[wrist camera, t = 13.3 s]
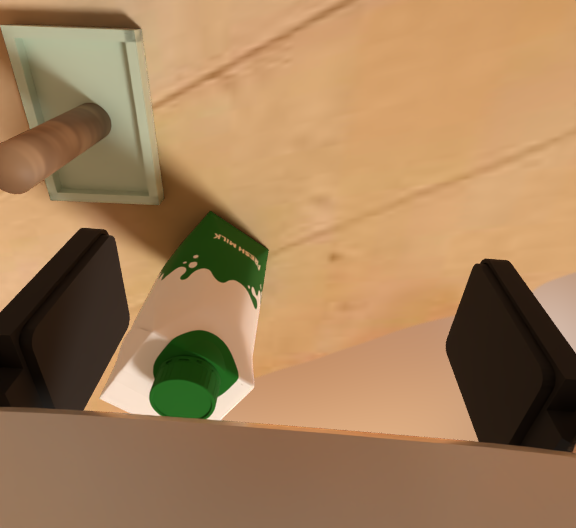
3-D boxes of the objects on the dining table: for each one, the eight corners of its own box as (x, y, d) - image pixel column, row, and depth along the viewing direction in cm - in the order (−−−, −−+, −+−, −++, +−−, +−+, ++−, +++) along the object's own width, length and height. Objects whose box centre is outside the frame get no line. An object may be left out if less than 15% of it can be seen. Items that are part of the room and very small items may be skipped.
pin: (71, 102, 35) (-26, 145, 25) (107, 103, 35) (25, 147, 25) (80, 138, 37) (-8, 192, 27) (114, 139, 37) (39, 195, 27)
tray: (12, 23, 33) (-1, 25, 31) (141, 28, 33) (134, 30, 31) (59, 193, 40) (50, 200, 39) (164, 198, 40) (159, 205, 39)
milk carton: (281, 248, 43) (264, 413, 26) (231, 303, 47) (189, 479, 30) (207, 197, 40) (133, 345, 23) (161, 261, 44) (70, 427, 27)
